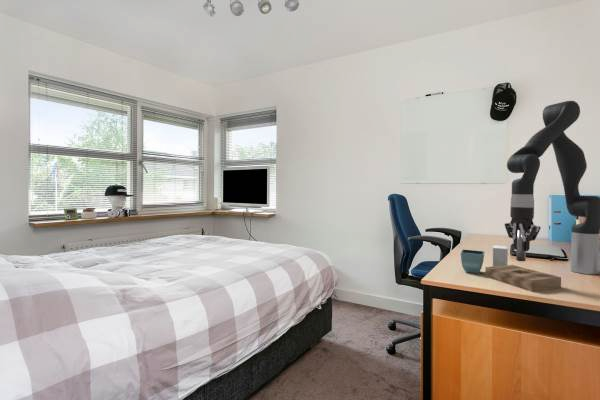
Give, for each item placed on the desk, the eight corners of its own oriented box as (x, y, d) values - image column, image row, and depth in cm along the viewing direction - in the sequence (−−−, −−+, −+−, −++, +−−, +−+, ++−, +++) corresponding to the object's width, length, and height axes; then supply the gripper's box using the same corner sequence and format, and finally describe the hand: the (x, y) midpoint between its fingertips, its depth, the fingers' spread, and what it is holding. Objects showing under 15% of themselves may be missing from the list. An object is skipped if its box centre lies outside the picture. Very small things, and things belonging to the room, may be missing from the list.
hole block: (485, 276, 133) (485, 267, 133) (512, 274, 137) (512, 264, 137) (531, 291, 114) (531, 280, 114) (560, 288, 118) (561, 277, 118)
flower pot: (484, 271, 143) (484, 251, 142) (483, 275, 135) (483, 254, 135) (462, 268, 147) (462, 249, 147) (460, 272, 140) (460, 252, 140)
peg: (520, 259, 127) (521, 229, 127) (527, 261, 124) (528, 230, 124) (514, 259, 126) (515, 229, 126) (521, 261, 123) (522, 230, 123)
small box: (507, 273, 139) (507, 248, 139) (492, 271, 142) (492, 247, 142) (507, 269, 146) (507, 246, 146) (492, 267, 149) (493, 245, 149)
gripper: (547, 206, 119) (546, 253, 119) (513, 205, 132) (512, 246, 133) (531, 207, 117) (530, 254, 117) (498, 205, 130) (498, 247, 131)
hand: (521, 250), depth 125 cm, fingers closed on peg, 3 cm apart
